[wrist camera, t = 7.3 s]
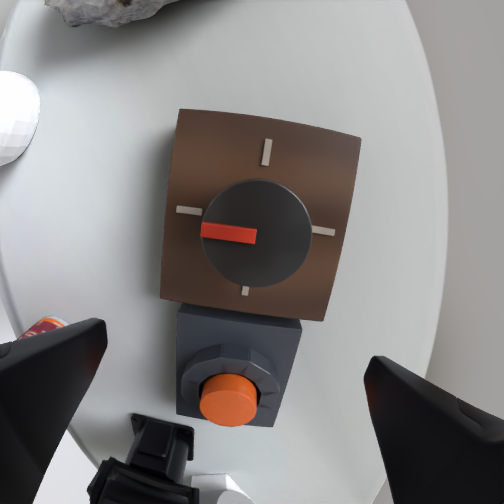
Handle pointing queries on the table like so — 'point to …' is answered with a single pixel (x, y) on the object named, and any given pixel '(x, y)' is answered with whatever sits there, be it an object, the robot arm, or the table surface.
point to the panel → (246, 167)
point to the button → (228, 400)
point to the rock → (106, 10)
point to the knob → (256, 233)
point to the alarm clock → (219, 490)
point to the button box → (234, 356)
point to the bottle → (17, 114)
